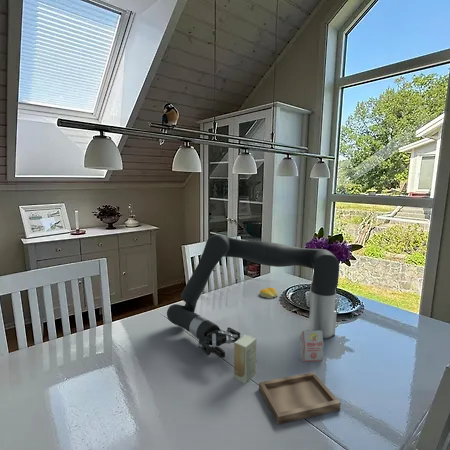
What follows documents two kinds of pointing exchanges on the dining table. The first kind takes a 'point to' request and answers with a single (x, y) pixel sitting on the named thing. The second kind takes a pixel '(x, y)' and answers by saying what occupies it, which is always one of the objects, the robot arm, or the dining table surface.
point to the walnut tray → (298, 397)
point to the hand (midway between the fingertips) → (234, 349)
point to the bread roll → (268, 293)
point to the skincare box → (245, 358)
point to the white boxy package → (311, 346)
